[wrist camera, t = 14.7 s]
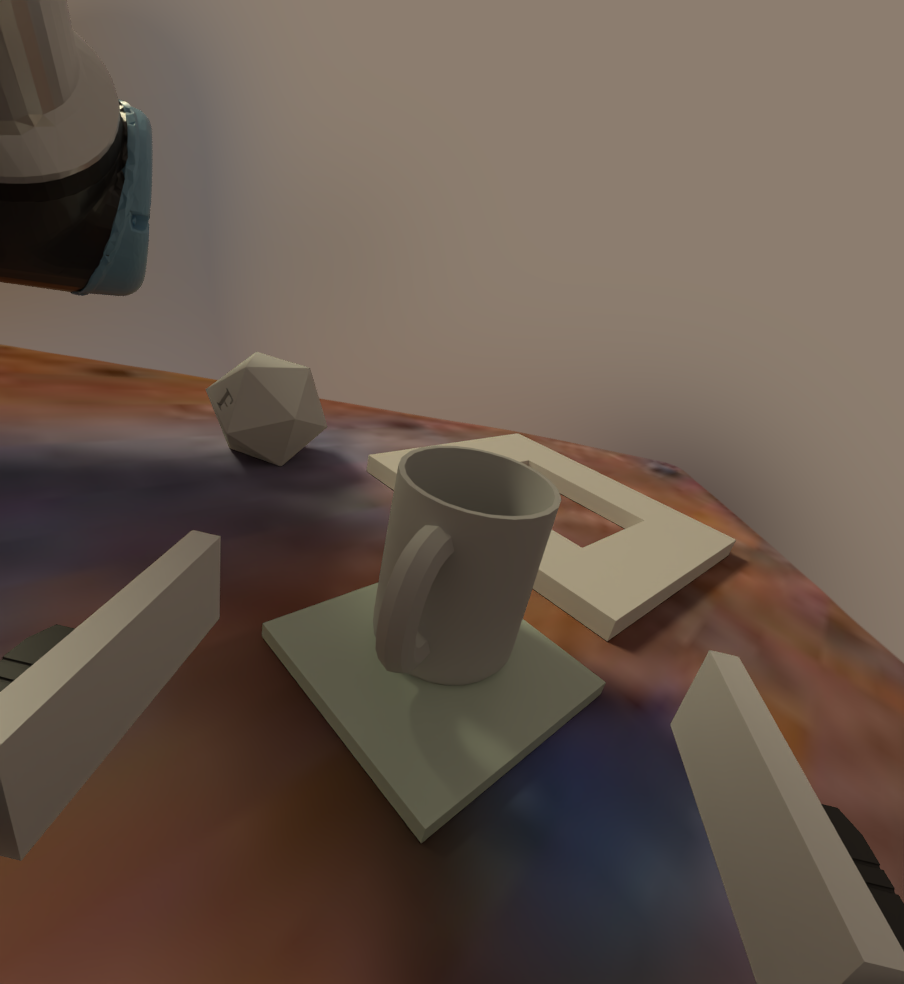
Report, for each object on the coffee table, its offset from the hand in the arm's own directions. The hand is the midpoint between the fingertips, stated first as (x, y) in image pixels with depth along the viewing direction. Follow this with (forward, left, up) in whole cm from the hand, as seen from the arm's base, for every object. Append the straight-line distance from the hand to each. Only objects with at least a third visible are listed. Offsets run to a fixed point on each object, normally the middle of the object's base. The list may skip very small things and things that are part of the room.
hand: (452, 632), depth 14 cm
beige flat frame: (-14, +27, -9) cm, 31 cm away
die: (-32, +11, -10) cm, 35 cm away
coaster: (-6, +7, -9) cm, 13 cm away
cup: (-6, +6, -9) cm, 12 cm away
